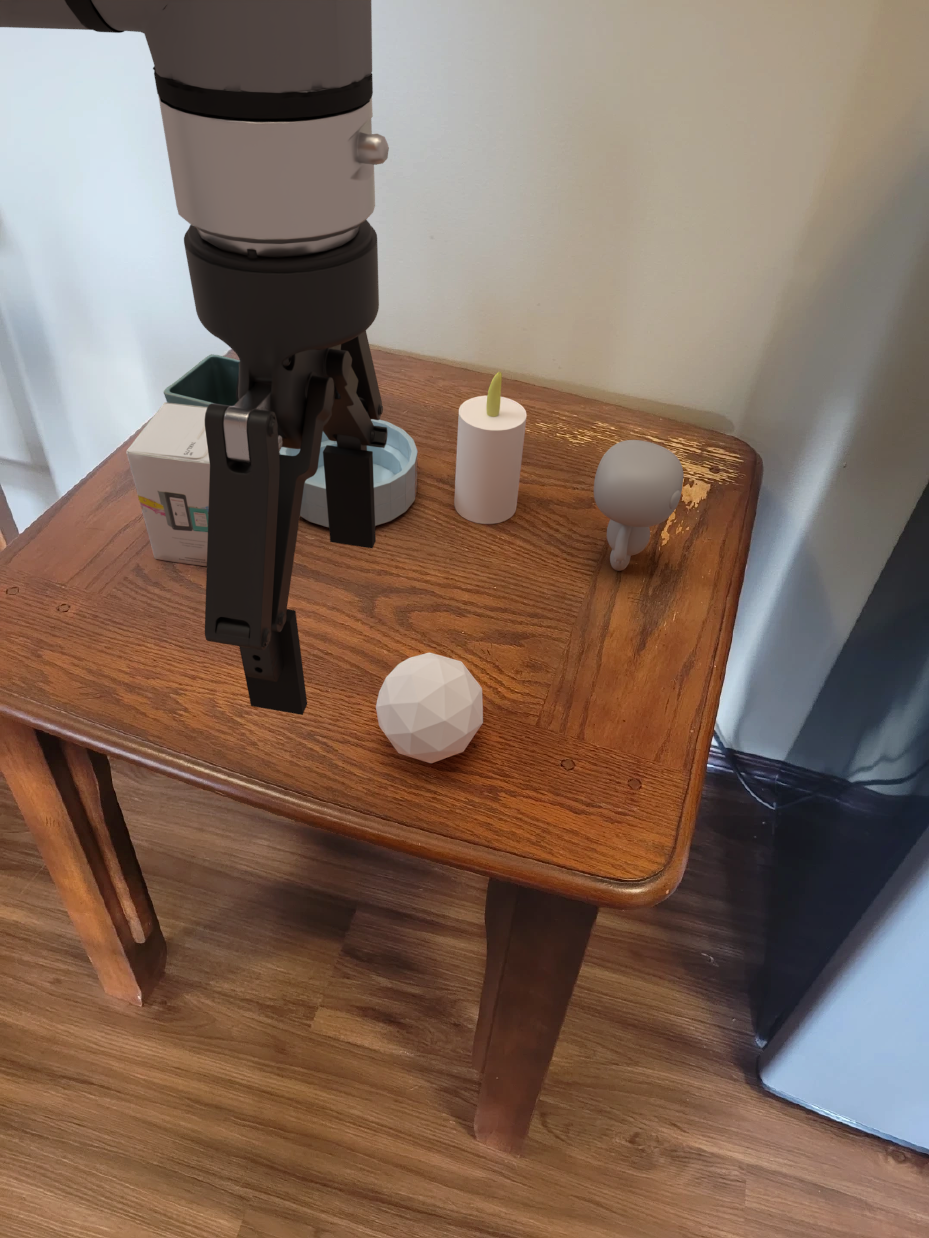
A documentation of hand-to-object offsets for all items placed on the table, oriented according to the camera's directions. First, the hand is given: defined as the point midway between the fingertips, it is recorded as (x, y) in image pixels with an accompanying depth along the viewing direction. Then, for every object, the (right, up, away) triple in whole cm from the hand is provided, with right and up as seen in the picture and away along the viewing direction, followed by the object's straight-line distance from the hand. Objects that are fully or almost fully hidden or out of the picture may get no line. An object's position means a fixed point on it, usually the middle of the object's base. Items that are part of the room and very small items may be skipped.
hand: (319, 615), depth 48 cm
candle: (+10, +11, +38) cm, 41 cm away
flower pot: (-16, +17, +42) cm, 48 cm away
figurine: (+23, +5, +33) cm, 40 cm away
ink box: (-15, +7, +32) cm, 36 cm away
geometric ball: (+5, -9, +16) cm, 19 cm away
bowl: (-3, +13, +38) cm, 40 cm away
